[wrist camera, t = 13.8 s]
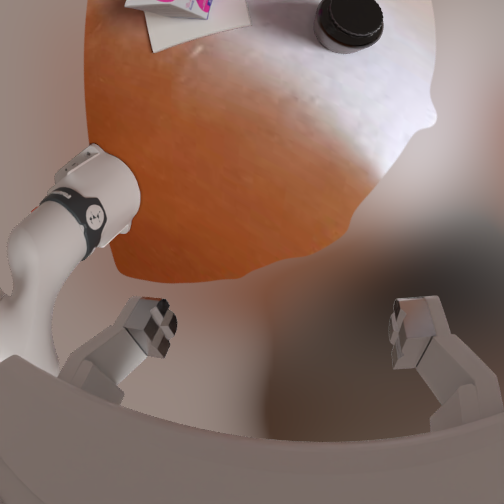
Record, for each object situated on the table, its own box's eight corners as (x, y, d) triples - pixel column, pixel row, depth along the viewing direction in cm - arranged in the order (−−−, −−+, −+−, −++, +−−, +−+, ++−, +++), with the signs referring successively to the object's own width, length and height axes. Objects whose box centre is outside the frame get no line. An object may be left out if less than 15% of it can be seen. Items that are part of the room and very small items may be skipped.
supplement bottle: (360, 61, 26) (384, 58, 17) (308, 44, 26) (308, 31, 17) (372, 19, 22) (400, -1, 12) (320, 1, 22) (325, -28, 13)
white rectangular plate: (156, 52, 29) (153, 52, 29) (142, -10, 22) (139, -11, 22) (251, 25, 26) (250, 24, 25) (235, -42, 19) (233, -44, 18)
